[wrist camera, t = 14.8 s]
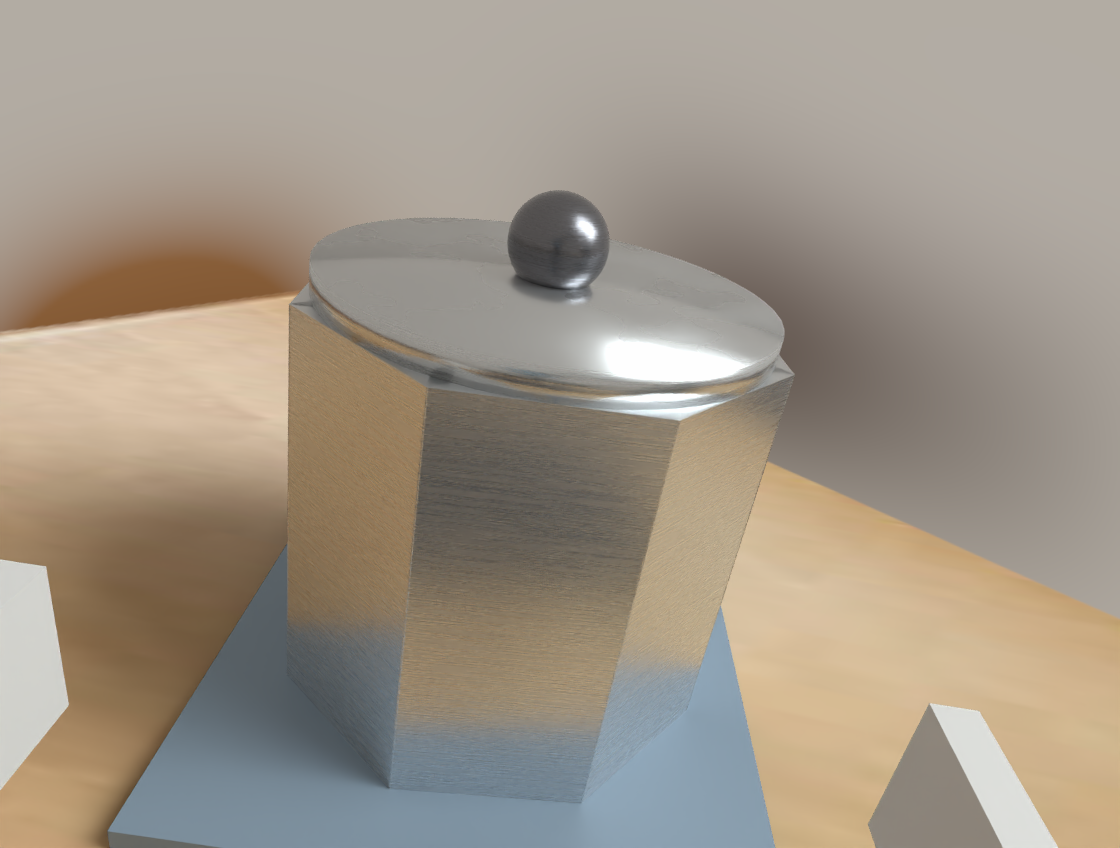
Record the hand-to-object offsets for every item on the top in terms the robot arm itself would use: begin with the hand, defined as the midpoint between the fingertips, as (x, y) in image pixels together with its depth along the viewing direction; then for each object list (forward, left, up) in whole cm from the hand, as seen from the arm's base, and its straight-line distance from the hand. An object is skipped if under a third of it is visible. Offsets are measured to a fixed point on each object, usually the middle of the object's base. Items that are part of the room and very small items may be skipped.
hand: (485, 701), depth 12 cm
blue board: (0, -10, -9) cm, 13 cm away
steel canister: (0, -11, -8) cm, 14 cm away
